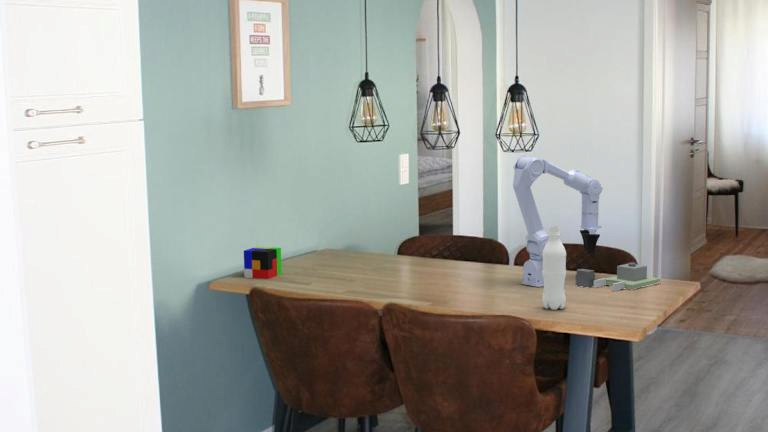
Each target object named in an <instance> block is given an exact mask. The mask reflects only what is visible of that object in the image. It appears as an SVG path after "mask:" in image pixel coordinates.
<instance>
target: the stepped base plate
mask: <svg viewBox="0 0 768 432" xmlns="http://www.w3.org/2000/svg"><path fill="white" fill-rule="evenodd" d="M647 273H648V266H647V265H642V264H637V263H636V262H633V261H632V262H628V263H624V264H620V265H617V266H616V275H615V276H610V277H607V278H606V277H605V278H603V277H602V278H599V279H595V280H594V287H593V288H594V289H596V287H598V288H602V287H601V286H603V287H605V286H604V285H609V286H608V287H610V286H612V292H617V290H619V291H621V289H623V290H627V289H634V288H638V287H642V286H646V285H650V284H654V283H657V282H659V281H660V282H661V278H659V277H653V276H647V275H648V274H647ZM624 288H626V289H624Z"/></svg>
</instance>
